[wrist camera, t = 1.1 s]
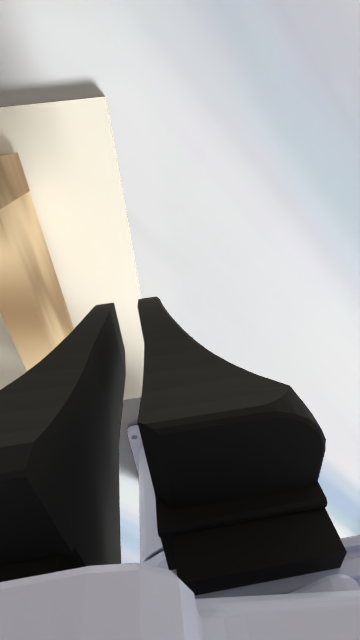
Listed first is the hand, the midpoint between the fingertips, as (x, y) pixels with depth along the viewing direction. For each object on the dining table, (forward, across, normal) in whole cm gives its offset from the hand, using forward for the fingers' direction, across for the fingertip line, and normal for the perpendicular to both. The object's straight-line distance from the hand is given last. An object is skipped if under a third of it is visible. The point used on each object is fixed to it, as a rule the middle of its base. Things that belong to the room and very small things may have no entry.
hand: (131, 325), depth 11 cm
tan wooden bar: (+7, +5, 0) cm, 9 cm away
